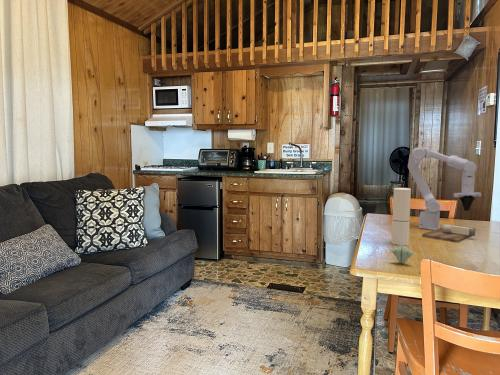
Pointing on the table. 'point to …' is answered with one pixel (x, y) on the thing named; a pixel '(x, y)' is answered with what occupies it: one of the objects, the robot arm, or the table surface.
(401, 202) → the cream tall block
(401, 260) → the green fan shape
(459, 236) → the base
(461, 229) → the coupling lever
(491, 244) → the table surface
